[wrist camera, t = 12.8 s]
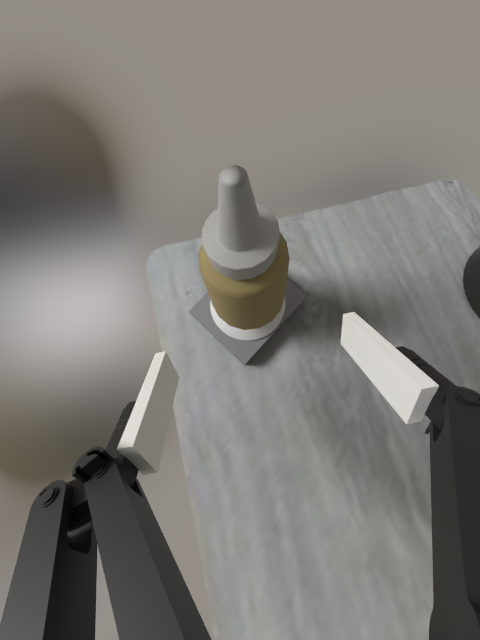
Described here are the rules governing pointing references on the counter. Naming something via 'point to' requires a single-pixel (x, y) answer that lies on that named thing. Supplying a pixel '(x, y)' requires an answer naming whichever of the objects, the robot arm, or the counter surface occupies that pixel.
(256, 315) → the squeeze bottle
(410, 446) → the counter surface
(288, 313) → the white dome on base
